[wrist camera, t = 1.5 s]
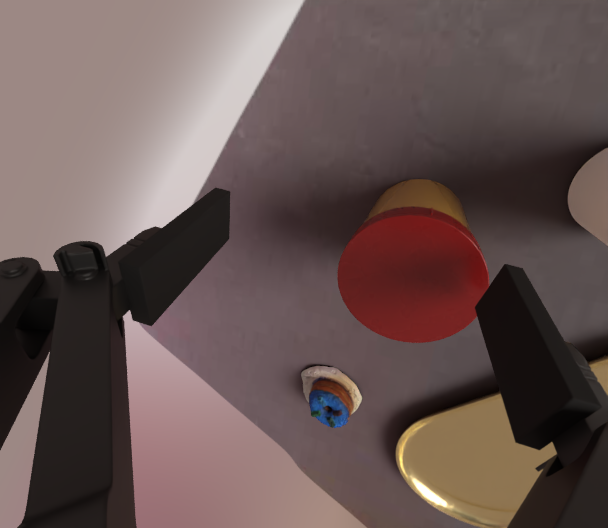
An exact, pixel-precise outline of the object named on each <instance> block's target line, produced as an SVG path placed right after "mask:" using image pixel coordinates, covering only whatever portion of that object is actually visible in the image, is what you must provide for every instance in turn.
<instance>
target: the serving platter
mask: <svg viewBox="0 0 608 528" xmlns="http://www.w3.org/2000/svg"><path fill="white" fill-rule="evenodd" d="M587 363H588V364H589V366H590V368H591V371H593V372H594V374H595V376H596V377H597V379H598V380H597V382H600V384H601V386H602V387H603V389H604V390H605V392H606V394H607V395H608V355H605V356H602V357H599V358H596V359H593V360H590V361H587ZM556 454H557V452H556V450H555V447H554V445H553V442H551V443H550V444H548V445H547V446H545V447H544V448H542V449H541V450H537V449H534V448H531V447H528V446H525V445H521V444H518V443H515V439H514V436H513V433H512V429H511V426H510V423H509V419H508V416H507V413H506V410H505V406H504V403H503V400H502V396H501V393H500V391H498V392H495V393H492V394H489V395H486V396H483V397H480V398H477V399H474V400H471V401H468V402H465V403H462V404H459V405H456V406H453V407H450V408H447V409H444V410H441V411H438V412H435V413H432V414H429V415H426V416H424V417H422V418H420V419H418V420H416V421H415V422H413V423H412V424H410V425H409V426H408V427H407V428H406V429H405V430H404V431H403V433H402V434H401V436H400V437H399V439H398V442H397V445H396V461H397V465H398V468H399V471H400V473H401V474H402V476H403V478H404V479H405V481H406V482H407V483H408V485H409V486H410V487H411V488H412V489H413V490H414V491H415V492H416V493H417V494H418V495H419V496H420V497H421V498H423V499H424V500H425V501H426V502H428V503H429V504H431V505H432V506H434V507H435V508H437V509H439V510H440V511H442V512H444V513H446V514H448V515H450V516H452V517H454V518H456V519H458V520H461V521H463V522H466V523H469V524H472V525H475V526H478V527H481V528H507V527H508V525H509V523H510V522H511V520H512V519H513V517H514V515H515V514H516V512H517V511H518V509H519V507H520V506H521V504H522V503H523V501H524V499H525V498H526V496H527V494H528V493H529V491H530V490H531V488H532V486H533V485H534V483H535V482H536V480H537V478H538V477H539V475H540V474H541V472H542V470H543V469H542V470H540V471H539V472H538V471H537V470H536V469H535V468H536V467H538V466H539V465H541V464H542V463H544V462H545V461H547V460H548V459H550V458H551V457H553V456H555V455H556Z"/></svg>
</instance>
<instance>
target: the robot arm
mask: <svg viewBox="0 0 608 528" xmlns="http://www.w3.org/2000/svg"><path fill="white" fill-rule="evenodd" d="M229 225H230V191H227V190H223V189H219V188H214V189H213V190H212V191H210V192H209V193H208V194H206V195H205V196H204V197H202V198H201V199H200V200H199V201H197V202H196V203H195V204H193V205H192V206H191V207H189V208H188V209H187V210H185V211H184V212H183V213H181V214H180V215H179V216H177V217H176V218H175V219H174V220H172V221H171V222H170V223H169V224H167V225H166V226H164V227H163V228H159V227H153V228H150V229H147V230H144V231H142V232H141V233H139V234H138V235H137V236H135V237H134V239H131V240H130V241H128V242H127V243H126V244H125V245H123V246H121V247H120V248H118V249H117V250H116V251H114V252H113V253H111V254H110V255H109V256H107V257H106V256H105V253H104V249H103V247H102V246H101V245H100V244H98V243H95V242H90V241H80V242H74V243H70V244H67V245H65V246H62V247H61V248H59V249H58V250H57V251H56V252H55V254H54V255H53V257H54V259H55V262H56V264H57V267H58V269H59V271H42V269H41V267H40V264H39V262H38V261H37V260H35V259H33V258H25V257H20V258H12V259H8V260H4V261H2V262H0V450H1V448H2V446H3V443H4V442H5V440H6V438H7V436H8V434H9V432H10V430H11V427H12V426H13V424H14V422H15V420H16V418H17V416H18V414H19V412H20V409H21V408H22V405H23V404H24V402H25V399H26V398H27V395H28V394H29V392H30V390H31V388H32V386H33V384H34V382H35V380H36V378H37V375H38V374H39V372H40V370H41V367H42V365H43V363H44V361H45V359H46V358H47V355H48V353H49V352H50V355H49V363H48V369H47V375H46V382H45V388H44V395H43V402H42V408H41V414H40V421H39V428H38V434H37V441H36V447H35V454H34V460H33V467H32V473H31V480H30V487H29V494H28V500H27V506H26V511H25V516H24V519H23V521H22V523H21V524H20V525H19V526H18V527H17V528H136V519H135V503H134V485H133V468H132V450H131V433H130V416H129V399H128V382H127V365H126V347H125V329H124V320H123V315H125V314H126V313H127V312H128V311H129V310H130V311H131V314H132V319H133V320H134V321H137V322H140V323H143V324H146V325H149V326H152V325H153V324H154V323H155V322H156V321H157V319H158V318H159V317H160V316H161V315H162V314H163V313H164V312H165V310H166V309H167V308H168V307H169V306H170V305H171V304H172V303H173V301H174V300H175V299H176V298H177V297H178V296H179V295H180V294H181V292H182V291H183V290H184V289H185V288H186V287H187V286H188V285H189V283H190V282H191V281H192V280H193V279H194V278H195V277H196V276H197V274H198V273H199V272H200V271H201V270H202V269H203V268H204V266H205V265H206V264H207V263H208V262H209V261H210V260H211V259H212V257H213V256H214V255H215V254H216V253H217V252H218V251H219V250H220V248H221V247H222V246H223V245H224V244H225V243H226V242H227V241H228V239H229ZM475 310H476V314H477V317H478V320H479V324H480V327H481V330H482V333H483V337H484V340H485V343H486V347H487V350H488V353H489V357H490V360H491V363H492V367H493V370H494V373H495V376H496V380H497V383H498V386H499V390H500V393H501V396H502V400H503V403H504V406H505V410H506V413H507V416H508V419H509V423H510V426H511V429H512V433H513V436H514V439H515V443H518V444H521V445H525V446H528V447H531V448H534V449H537V450H541V449H542V448H544V447H545V446H547V445H548V444H550V443H551V442H553V445H554V447H555V450H556V452H557V454H556V455H555V456H553V457H551V458H550V459H548V460H547V461H545V462H544V463H542V464H541V465H539V466H538V467H536V468H535V469H536V470H537V471H538V472H539V471H540V470H542V469H543V470H542V472H541V474H540V475H539V477H538V478H537V480H536V482H535V483H534V485H533V486H532V488H531V490H530V491H529V493H528V494H527V496H526V498H525V499H524V501H523V503H522V504H521V506H520V507H519V509H518V511H517V512H516V514H515V515H514V517H513V519H512V520H511V522H510V523H509V525H508V527H507V528H608V395H607V394H606V392H605V390H604V389H603V387H602V386H601V384H600V382H597V380H598V379H597V377H596V376H595V374H594V372H593V371H591V368H590V366H589V364H588V363H587V361H586V359H585V358H584V356H583V355H582V354H581V353H580V352H579V351H578V350H577V349H576V348H575V347H574V346H573V345H572V344H571V343H568V342H565V341H564V340H563V338H562V336H561V334H560V333H559V331H558V329H557V327H556V326H555V324H554V322H553V321H552V319H551V317H550V315H549V314H548V312H547V310H546V308H545V307H544V305H543V303H542V301H541V300H540V298H539V296H538V294H537V293H536V291H535V289H534V288H533V286H532V284H531V282H530V281H529V279H528V277H527V275H526V274H525V272H524V270H523V268H519V267H515V266H511V265H507V264H504V266H503V267H502V269H501V270H500V272H499V273H498V274H497V276H496V277H495V279H494V280H493V282H492V283H491V285H490V286H489V287H488V289H487V290H486V292H485V293H484V295H483V296H482V297H481V299H480V300H479V302H478V303H477V305H476V306H475Z"/></svg>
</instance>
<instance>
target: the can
mask: <svg viewBox="0 0 608 528" xmlns="http://www.w3.org/2000/svg"><path fill="white" fill-rule="evenodd" d="M568 206H569V210H570V213H571V215H572V217H573V218H574V219H575V221H576V222H577V223H578V224H580V225H581V226H582V227H583V228H585V229H586V230H587V231H589V232H590V233H591V234H593V235H594V236H595V237H596V238H598V239H599V240H600V241H602V242H603V243H604V244H606V245H607V246H608V148H606V149H604V150H602V151H601V152H599V153H597V154H596V155H595V156H593V157H592V158H591V159H590V160H588V161H587V162H586V163H585V164H584V165H583V166H582V167H581V169H580V170H579V171H578V172H577V174H576V175H575V177H574V179H573V181H572V183H571V185H570V188H569V192H568Z"/></svg>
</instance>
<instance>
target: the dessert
mask: <svg viewBox="0 0 608 528" xmlns="http://www.w3.org/2000/svg"><path fill="white" fill-rule="evenodd" d="M301 377H302V380H303V384H302V386H303V390H304V391H303V392H304V394H305V398H306V400H307V401H308V402H309V404H310V408H311V416H312V417H316V418H317V419H318V420H319V421H321V423H323V424H325V425H328V426H330V427H332V428H333V427H334V428H336V427H341V426H342V425H343V426H344V425H346V423H347V422H348V419H349V417H350V416H351V414H352V413H354V412H355V411H356V410H357V408H358V407H359V405H360V403H361V401H362V396H361V395H360V392H359V390H358V388H357V386H356V385H355V384H354V383H353V382H352V381H351V380H350V379H349V378H348V377H347V376H346V375H344V374H343V373H342V372H341V371H340V370H338V369H337V368H335V367H326V366H315V367H310V368H308V369H306V370H304V371H303V372H302V373H301Z"/></svg>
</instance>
